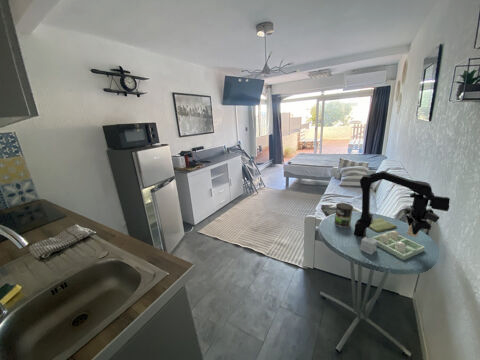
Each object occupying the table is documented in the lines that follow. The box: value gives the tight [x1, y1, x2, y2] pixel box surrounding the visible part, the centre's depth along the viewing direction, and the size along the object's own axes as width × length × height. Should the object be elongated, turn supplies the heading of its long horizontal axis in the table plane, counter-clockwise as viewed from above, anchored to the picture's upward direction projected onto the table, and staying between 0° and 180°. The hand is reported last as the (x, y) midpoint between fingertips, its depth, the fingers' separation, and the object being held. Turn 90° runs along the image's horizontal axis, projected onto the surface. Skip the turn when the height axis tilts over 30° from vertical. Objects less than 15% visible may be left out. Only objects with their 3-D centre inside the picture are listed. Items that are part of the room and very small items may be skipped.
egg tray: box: [371, 230, 426, 261], centre depth 114 cm, size 18×18×3 cm
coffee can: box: [334, 202, 354, 229], centre depth 139 cm, size 10×10×14 cm
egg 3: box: [395, 242, 406, 254], centre depth 108 cm, size 4×4×6 cm
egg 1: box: [379, 233, 389, 245], centre depth 115 cm, size 4×4×6 cm
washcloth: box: [368, 217, 398, 233], centre depth 135 cm, size 13×18×3 cm
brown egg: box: [406, 225, 419, 238], centre depth 108 cm, size 4×4×6 cm
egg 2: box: [389, 230, 400, 242], centre depth 118 cm, size 4×4×6 cm
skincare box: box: [359, 235, 378, 255], centre depth 111 cm, size 6×6×7 cm
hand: (412, 232), depth 109 cm, fingers closed on brown egg, 4 cm apart
